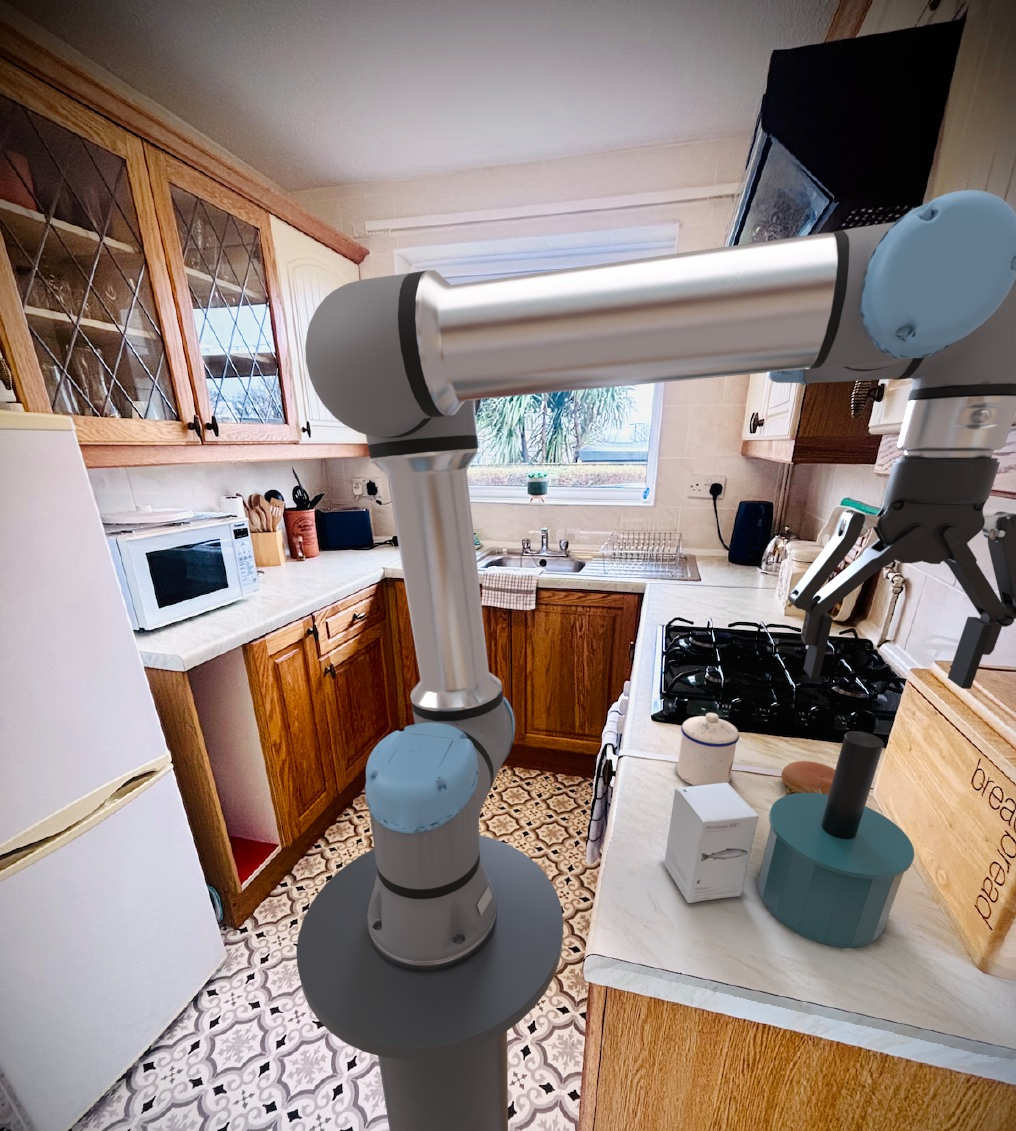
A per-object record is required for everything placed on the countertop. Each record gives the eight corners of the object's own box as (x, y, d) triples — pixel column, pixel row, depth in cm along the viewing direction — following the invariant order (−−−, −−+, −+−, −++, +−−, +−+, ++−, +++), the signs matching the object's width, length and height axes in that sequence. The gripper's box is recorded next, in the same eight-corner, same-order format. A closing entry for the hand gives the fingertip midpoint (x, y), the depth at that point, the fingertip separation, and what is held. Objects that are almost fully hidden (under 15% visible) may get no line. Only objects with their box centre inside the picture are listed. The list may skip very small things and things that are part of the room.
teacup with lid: (741, 788, 90) (752, 726, 85) (687, 791, 89) (696, 729, 84) (710, 751, 101) (719, 694, 96) (662, 753, 100) (669, 696, 95)
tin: (771, 936, 63) (789, 865, 59) (748, 856, 75) (762, 793, 71) (903, 957, 60) (931, 884, 56) (857, 870, 72) (877, 805, 68)
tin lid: (784, 872, 58) (810, 768, 53) (756, 794, 72) (775, 704, 66) (938, 893, 56) (981, 784, 51) (879, 807, 69) (908, 714, 64)
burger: (789, 771, 94) (795, 748, 92) (850, 792, 89) (857, 768, 87) (770, 797, 88) (776, 772, 86) (835, 822, 82) (842, 796, 80)
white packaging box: (687, 905, 67) (701, 822, 62) (662, 863, 74) (673, 785, 69) (743, 898, 68) (761, 815, 63) (713, 857, 75) (727, 780, 70)
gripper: (803, 456, 46) (760, 684, 55) (1156, 454, 42) (1051, 704, 50) (781, 455, 53) (746, 657, 61) (1083, 452, 48) (1001, 673, 57)
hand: (883, 679), depth 56 cm, fingers open, 13 cm apart
